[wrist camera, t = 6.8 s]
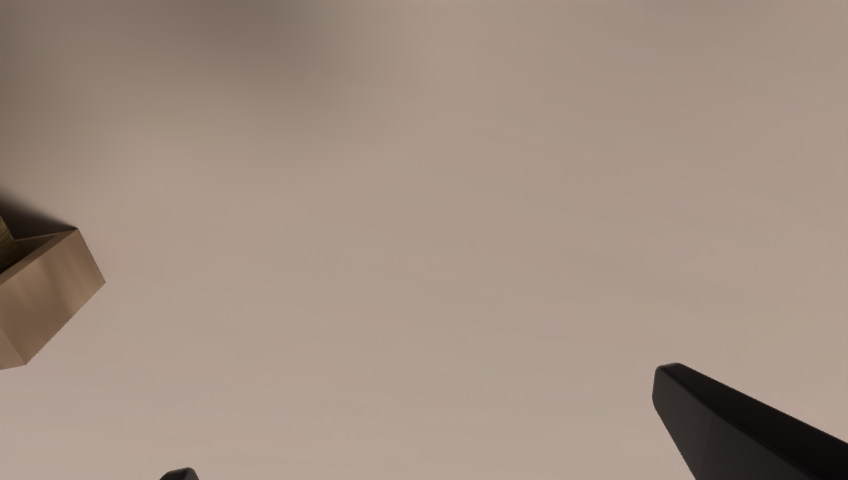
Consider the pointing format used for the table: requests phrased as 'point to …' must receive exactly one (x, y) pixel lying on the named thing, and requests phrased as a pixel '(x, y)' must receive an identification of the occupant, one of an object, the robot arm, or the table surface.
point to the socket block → (43, 292)
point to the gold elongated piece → (8, 249)
